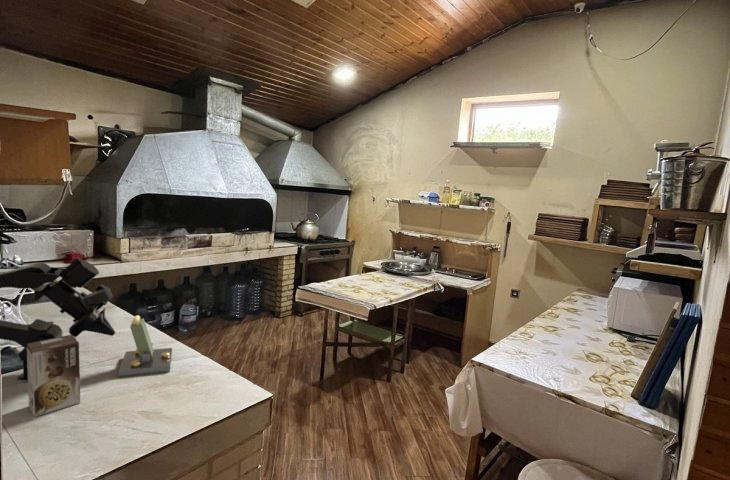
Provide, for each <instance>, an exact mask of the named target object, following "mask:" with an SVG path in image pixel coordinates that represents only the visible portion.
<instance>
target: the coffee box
mask: <svg viewBox="0 0 730 480" xmlns="http://www.w3.org/2000/svg"><path fill="white" fill-rule="evenodd" d="M27 369H28V379H27V388H28V389H27V393H28V407H29V409H30V411H31V413H32V415H33V416H34V417H35V418H36V417H40V416H41V415H46V414H48V413H52V412H55V411H58V410H61V409H65V408H68V407H70V406H74V405H76V404H79V403H81V377H80V376H81V373H80V342H79V341H78V340H77V339H76V337H74V336H72V335H71V334H68V335H62V337H57V338H52V339H47V340H42V341H38V342H33V343H28V344H27Z"/></svg>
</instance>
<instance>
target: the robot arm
mask: <svg viewBox="0 0 730 480" xmlns="http://www.w3.org/2000/svg"><path fill="white" fill-rule="evenodd" d="M98 275H99V270H98V269H97V268H96V267H95V265H94V264H92V263H90V262H88V261H86V260H84V259H82V258H81V257H76V258H75V259H74V260H73V261H72V262H71V263H70V264H69V265H67V266H66V267H65V268H63V267H62V268H61V267H54V266H50V265H48V264H46V263H44V262H36V263H32V264H31V263H30V264H27V265H24V266H22V267H21V266H20V267H19V268H15V269H11V270H8V271H1V272H0V289H5V288H13V289H35V290H34V291H33V292H34V301H35V302H38V301H39V300H40V299H41V298H43V297H45V299H47V300H48V301H50V302H51V303H53V305H55V306H56V307H58V308H59V312H60V313H61V314H64V313H66V314H67V315H69V316H70V317H71V318H73V320H72V324H71V325H70V326H69V329H68V333H69V335H72V336H73V337H75V338H77V337H78V336H79V335H80V334H82V332H92V333H97V334H102V335H107V336H111V337H112V336H114V335H115V334H116V331H115V330H114V328H113V326H112V325H111V323H110V322H109V321H108V320H107V317H106V308H104V309H103V308H102V307H104V306H105V305H107V304H108V303H109V301H110V300H112V298H113V297H114V296H113V293H112V290H111V288H109V286H105V285H104V284H99V285H97V286H95V290H94V291H92V292H91V293H88V294H87V293H86V292H83V291H81V292H79V291H77V290H76V289H77V288H79V289H80V288H81V289H82V288H83V287H84V286H86V285H87V284H89V282H91V281H92V280H93V279H94V278H95V277H97V276H98ZM58 278H61V279H59V280H58ZM56 280H58V281H56ZM54 281H56V282H54ZM43 285H45V286H44V287H42V286H43ZM41 287H42V288H41ZM101 308H102V310H100V309H101ZM54 322H55V321H45V320H42V319H38V318H36V319H35V320H33V322H31V323H27V324H25V323H24V324H23V323H18V322H11V321H7V320H1V319H0V340H4V341H11V342H14V343H17V345H20V346H21V347H23V348H22V350H20V351H19V353H18V356H19V358H20V360H21V361H22V368H23V371H22V373H21V374H20V375H19V376H17V380H28V369H27V344H28V343H33V342H38V341H42V340H47V339H52V338H57V337H62V336H63V329H62V328H61V326H59V325H58V324H55V323H54Z"/></svg>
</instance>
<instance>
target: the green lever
mask: <svg viewBox="0 0 730 480" xmlns="http://www.w3.org/2000/svg"><path fill="white" fill-rule="evenodd" d="M130 331H131V334H132V336H133V337H132V338H133V339H134V343H135V345H136V347H135V348H136V349H137V350H138V353H139V356H140V359H141V360H142V353H148V352H150V358H151V357H152V355H153V351H154V350H153V349H154V346H152V344H151V343H152V341H151V338H150V334H149V332H148V331H149V330H148V328H147V324H146V321H145V319H144V317H143V318H141V316H140V315H134V317H133V319H132V321H131V324H130Z"/></svg>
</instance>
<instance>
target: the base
mask: <svg viewBox="0 0 730 480" xmlns="http://www.w3.org/2000/svg"><path fill="white" fill-rule="evenodd" d="M151 344H152V347H154V346H153V345H154V344H153V342H151ZM153 350H154V351H153V355H152V357H151V358H150V352H148V353H142V360H141V359H140V356H139V353H138V350H137V348H136V349H135V350H132V351H131V350H130V351H125V353H124V356H123V358H122V360H121V364H120V365H119V369H118V378H124V377H134V376H144V375H153V374H154V375H155V374H164V373H170V372H171V365H172V359H173V358H172V357H173V348H172V347H169V348H168V347H166V348H155V349H154V348H153Z"/></svg>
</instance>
